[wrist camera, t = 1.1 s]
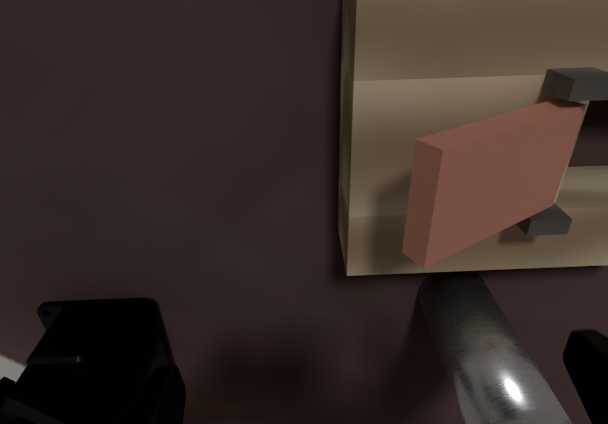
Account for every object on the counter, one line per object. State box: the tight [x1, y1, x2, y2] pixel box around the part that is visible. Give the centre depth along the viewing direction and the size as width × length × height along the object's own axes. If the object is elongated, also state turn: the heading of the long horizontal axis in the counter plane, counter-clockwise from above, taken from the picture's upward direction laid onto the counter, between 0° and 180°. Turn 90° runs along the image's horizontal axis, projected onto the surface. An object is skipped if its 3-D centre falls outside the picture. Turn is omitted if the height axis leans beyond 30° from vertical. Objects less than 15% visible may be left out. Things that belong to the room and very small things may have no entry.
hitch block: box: [338, 0, 608, 276], centre depth 17 cm, size 12×16×6 cm
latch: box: [402, 98, 586, 268], centre depth 14 cm, size 7×4×1 cm, turn 92°
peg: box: [418, 271, 572, 424], centre depth 21 cm, size 4×4×9 cm
